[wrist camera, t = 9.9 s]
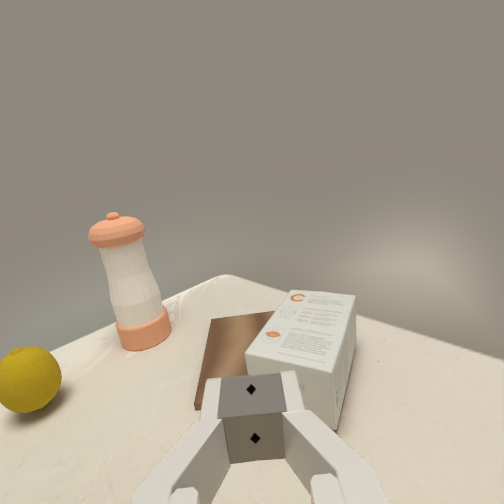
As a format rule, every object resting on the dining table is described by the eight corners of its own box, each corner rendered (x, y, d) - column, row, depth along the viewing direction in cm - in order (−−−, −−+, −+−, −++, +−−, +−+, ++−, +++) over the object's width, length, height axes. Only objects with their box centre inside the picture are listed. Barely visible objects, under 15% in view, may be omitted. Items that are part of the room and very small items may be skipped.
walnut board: (195, 410, 28) (194, 404, 28) (212, 323, 44) (211, 319, 43) (332, 392, 28) (331, 386, 28) (301, 312, 43) (300, 307, 43)
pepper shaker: (181, 326, 44) (151, 206, 38) (144, 356, 38) (103, 218, 32) (149, 319, 48) (118, 208, 42) (111, 345, 42) (68, 219, 36)
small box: (336, 433, 23) (358, 340, 34) (332, 372, 21) (357, 293, 32) (251, 406, 27) (295, 329, 38) (241, 352, 25) (290, 287, 36)
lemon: (49, 385, 35) (25, 330, 32) (81, 392, 33) (58, 335, 30) (0, 424, 30) (-33, 363, 28) (33, 435, 28) (1, 371, 26)
